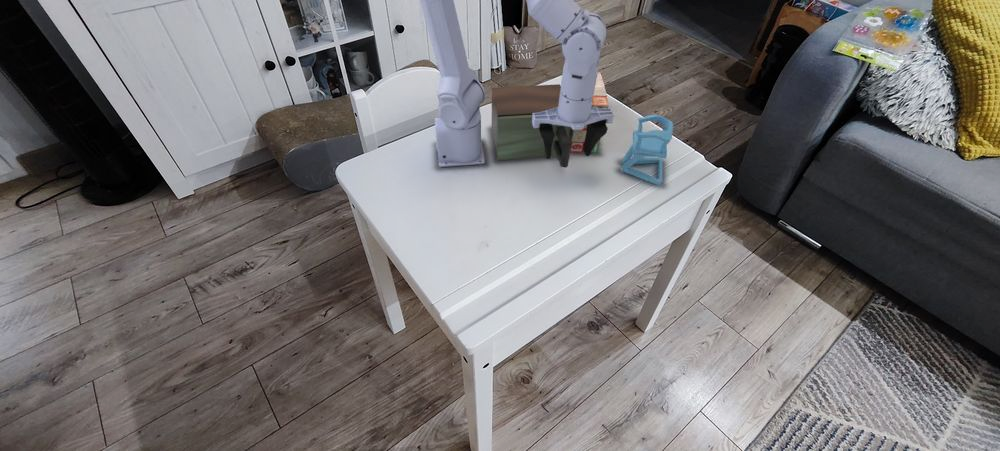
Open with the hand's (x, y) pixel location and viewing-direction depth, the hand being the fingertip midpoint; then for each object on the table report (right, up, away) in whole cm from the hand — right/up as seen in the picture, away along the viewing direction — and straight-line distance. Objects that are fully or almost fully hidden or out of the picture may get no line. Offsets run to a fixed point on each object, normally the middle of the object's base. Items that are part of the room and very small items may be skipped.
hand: (566, 154), depth 88 cm
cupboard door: (-6, -2, +6) cm, 9 cm away
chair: (+16, -2, +7) cm, 18 cm away
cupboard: (-7, +5, +12) cm, 15 cm away
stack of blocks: (+5, +9, +17) cm, 20 cm away
